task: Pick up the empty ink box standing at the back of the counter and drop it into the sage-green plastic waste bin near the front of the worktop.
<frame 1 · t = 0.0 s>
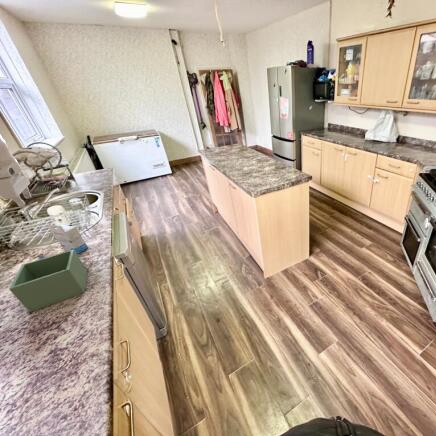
hand: (25, 201, 95), 26 cm above the counter, tool pointing down, fingers open, 8 cm apart
knife: (42, 266, 99), on the counter
waste bin: (61, 289, 87), on the counter
ink box: (76, 250, 109), on the counter
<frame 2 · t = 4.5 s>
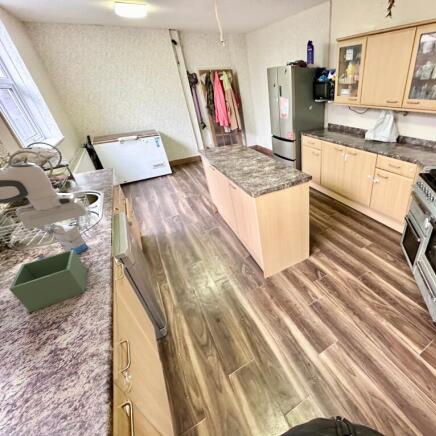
hand: (65, 229, 103), 11 cm above the counter, tool pointing down, fingers open, 8 cm apart
ink box: (76, 250, 109), on the counter, touching gripper
everything else where it was.
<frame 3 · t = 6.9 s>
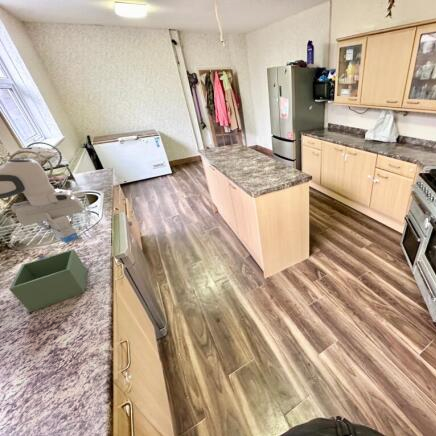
hand: (61, 226, 102), 13 cm above the counter, tool pointing down, fingers closed on ink box, 7 cm apart
ink box: (68, 239, 105), point 6 cm above the counter, touching gripper
everything else where it was.
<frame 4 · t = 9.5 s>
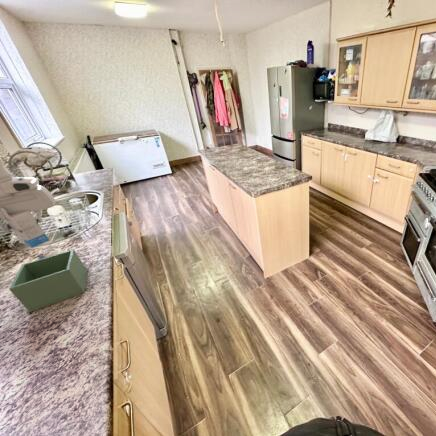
hand: (24, 226, 78), 25 cm above the counter, tool pointing down, fingers closed on ink box, 7 cm apart
ink box: (36, 242, 81), point 19 cm above the counter, touching gripper
everything else where it was.
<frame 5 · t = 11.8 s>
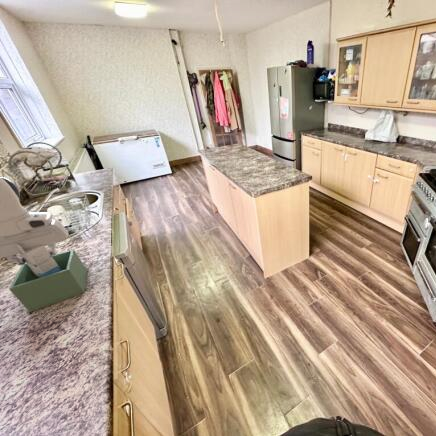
hand: (38, 259, 80), 14 cm above the counter, tool pointing down, fingers closed on ink box, 7 cm apart
ink box: (49, 273, 83), point 8 cm above the counter, touching gripper
everything else where it was.
when the fingers open (10 cm above the counter, at t = 13.6 s): ink box drops 3 cm, resting on waste bin.
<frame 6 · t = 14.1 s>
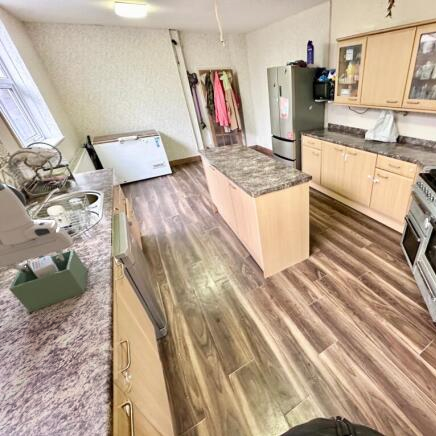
hand: (43, 266, 81), 11 cm above the counter, tool pointing down, fingers open, 8 cm apart
ink box: (59, 287, 86), point 1 cm above the counter, touching waste bin
everything else where it was.
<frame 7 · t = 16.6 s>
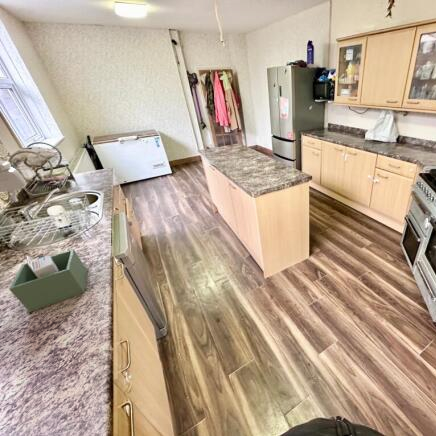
nothing on the counter moved.
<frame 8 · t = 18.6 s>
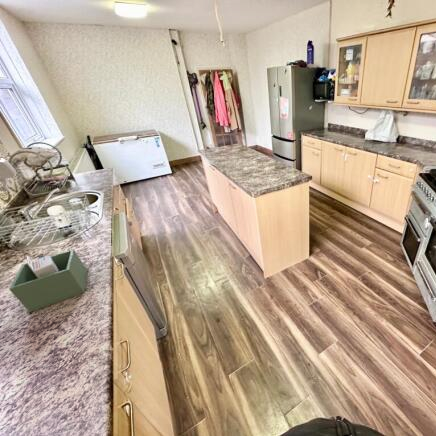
nothing on the counter moved.
at the end: ink box inside the target area in the waste bin (0.3 cm from its centre), point 0.6 cm above the waste bin's base; the gripper is holding nothing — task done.
